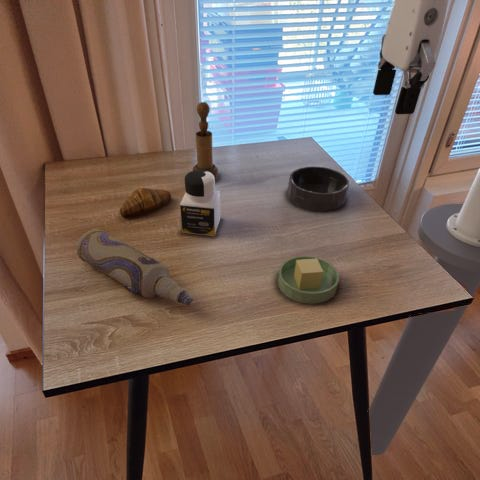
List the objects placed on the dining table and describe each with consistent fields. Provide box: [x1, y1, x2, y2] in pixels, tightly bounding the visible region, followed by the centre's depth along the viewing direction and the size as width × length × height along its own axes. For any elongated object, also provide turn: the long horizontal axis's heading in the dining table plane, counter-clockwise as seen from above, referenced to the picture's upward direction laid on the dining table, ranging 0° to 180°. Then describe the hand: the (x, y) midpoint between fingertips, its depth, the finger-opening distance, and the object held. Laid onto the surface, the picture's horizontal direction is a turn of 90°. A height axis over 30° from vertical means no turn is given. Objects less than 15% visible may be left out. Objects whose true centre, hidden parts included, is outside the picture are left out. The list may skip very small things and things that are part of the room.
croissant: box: [119, 187, 172, 218], centre depth 95 cm, size 14×7×5 cm, turn 134°
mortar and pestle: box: [192, 101, 219, 182], centre depth 102 cm, size 7×6×18 cm
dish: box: [277, 255, 340, 305], centre depth 78 cm, size 11×11×2 cm
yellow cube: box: [294, 257, 323, 290], centre depth 77 cm, size 4×4×4 cm
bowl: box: [287, 165, 350, 213], centre depth 101 cm, size 14×14×4 cm
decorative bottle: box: [75, 228, 194, 306], centre depth 75 cm, size 26×8×7 cm, turn 52°
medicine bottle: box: [179, 170, 221, 237], centre depth 87 cm, size 7×7×12 cm
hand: (392, 103), depth 73 cm, fingers open, 9 cm apart
